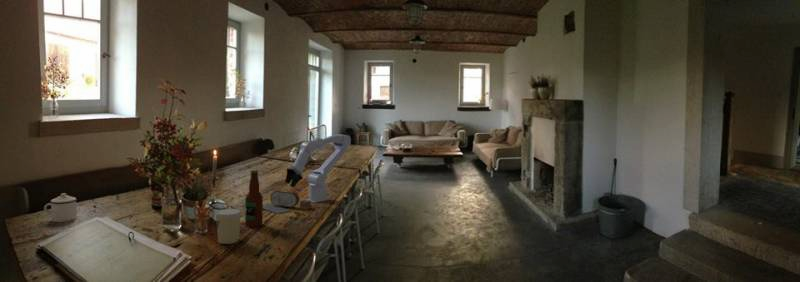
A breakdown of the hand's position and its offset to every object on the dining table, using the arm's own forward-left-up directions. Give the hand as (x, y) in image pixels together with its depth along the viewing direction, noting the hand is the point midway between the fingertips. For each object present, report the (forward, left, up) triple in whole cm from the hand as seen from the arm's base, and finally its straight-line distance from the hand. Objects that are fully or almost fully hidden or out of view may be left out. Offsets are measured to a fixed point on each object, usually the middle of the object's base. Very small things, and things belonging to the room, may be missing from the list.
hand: (289, 185), depth 224 cm
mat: (+9, 0, -12) cm, 15 cm away
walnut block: (-4, +9, -12) cm, 15 cm away
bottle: (+31, +17, -12) cm, 37 cm away
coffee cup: (+49, +28, -12) cm, 58 cm away
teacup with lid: (+88, -45, -12) cm, 100 cm away
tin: (+3, 0, -11) cm, 12 cm away
